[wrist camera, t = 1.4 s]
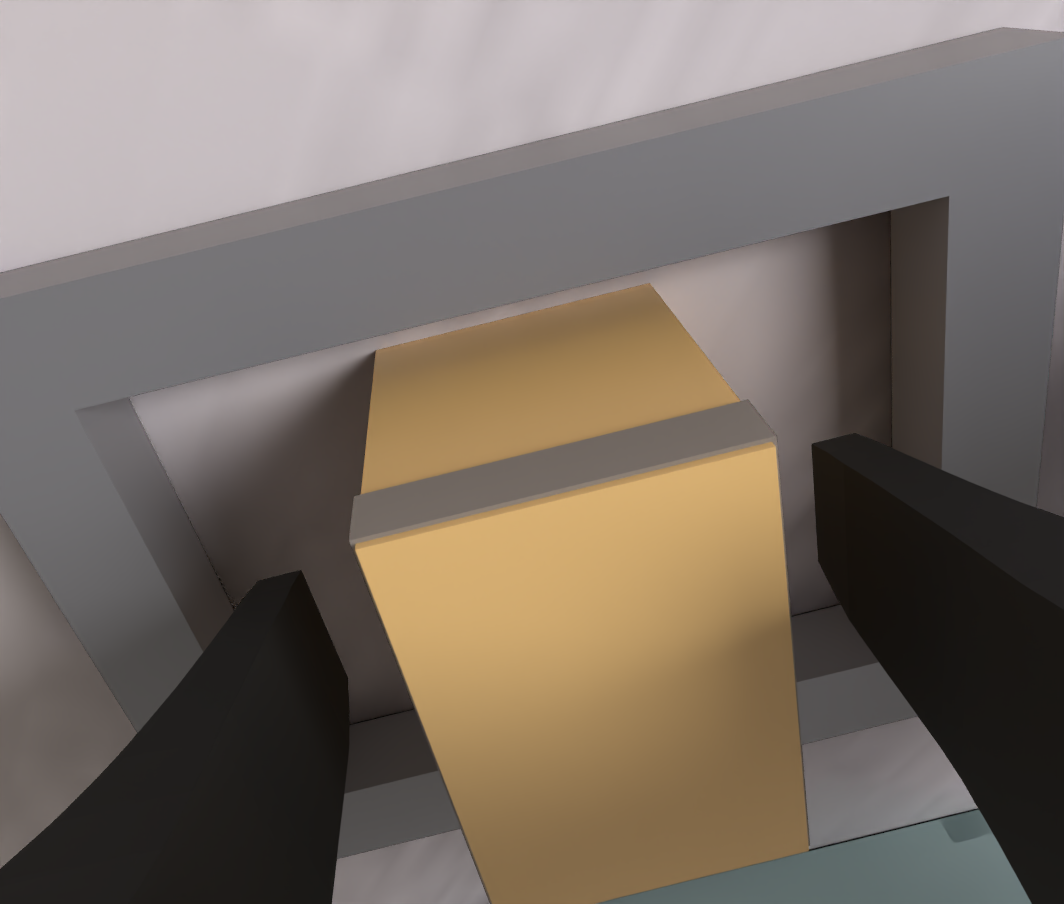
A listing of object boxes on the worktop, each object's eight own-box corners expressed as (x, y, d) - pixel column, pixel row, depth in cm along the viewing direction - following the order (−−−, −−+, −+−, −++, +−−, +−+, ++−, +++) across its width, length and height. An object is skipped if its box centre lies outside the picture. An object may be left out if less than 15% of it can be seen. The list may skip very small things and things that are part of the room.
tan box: (651, 277, 12) (780, 441, 8) (699, 604, 15) (812, 852, 11) (371, 345, 12) (347, 546, 8) (474, 659, 15) (497, 929, 11)
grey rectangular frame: (1003, 27, 11) (1080, 33, 10) (970, 634, 16) (1019, 690, 15) (-54, 285, 11) (-116, 326, 10) (246, 812, 16) (232, 884, 15)
